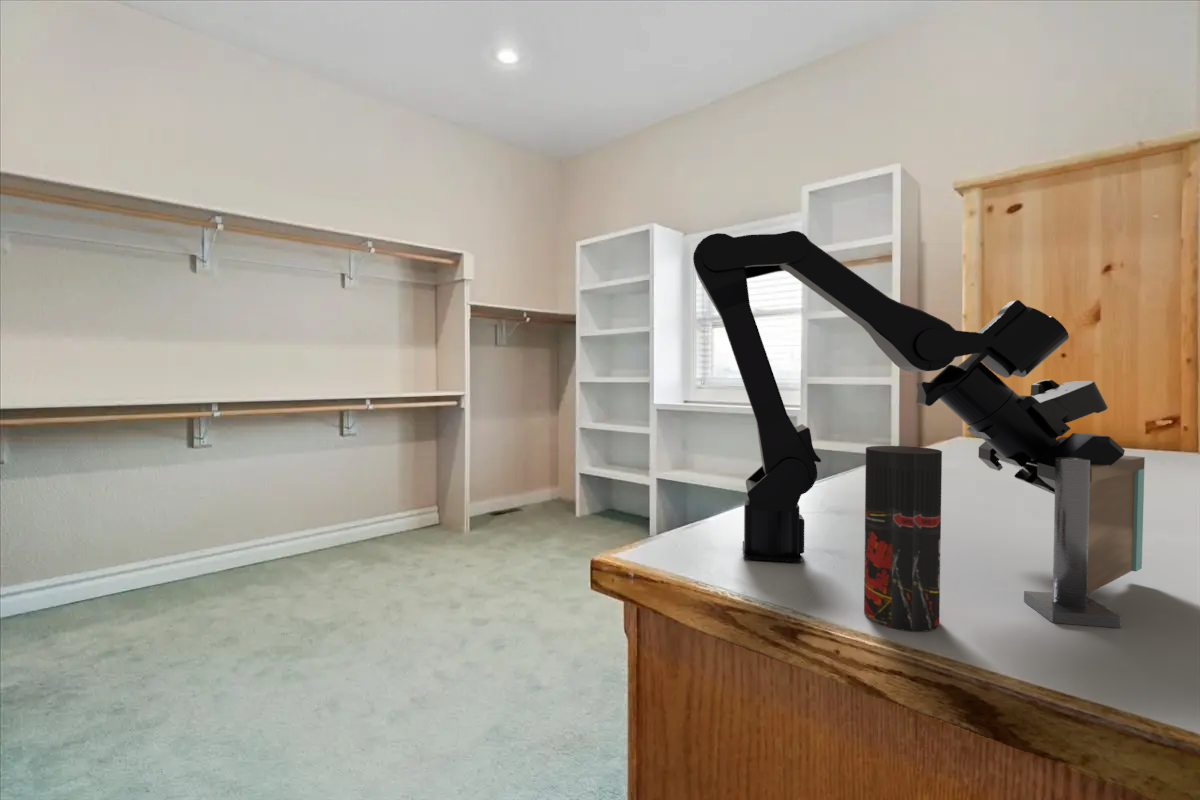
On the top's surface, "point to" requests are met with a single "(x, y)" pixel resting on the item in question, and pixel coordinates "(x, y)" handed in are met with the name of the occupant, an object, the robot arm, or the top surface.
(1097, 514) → the gate
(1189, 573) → the top surface
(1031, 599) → the hinge post
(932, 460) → the deodorant
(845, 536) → the top surface
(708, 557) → the top surface
